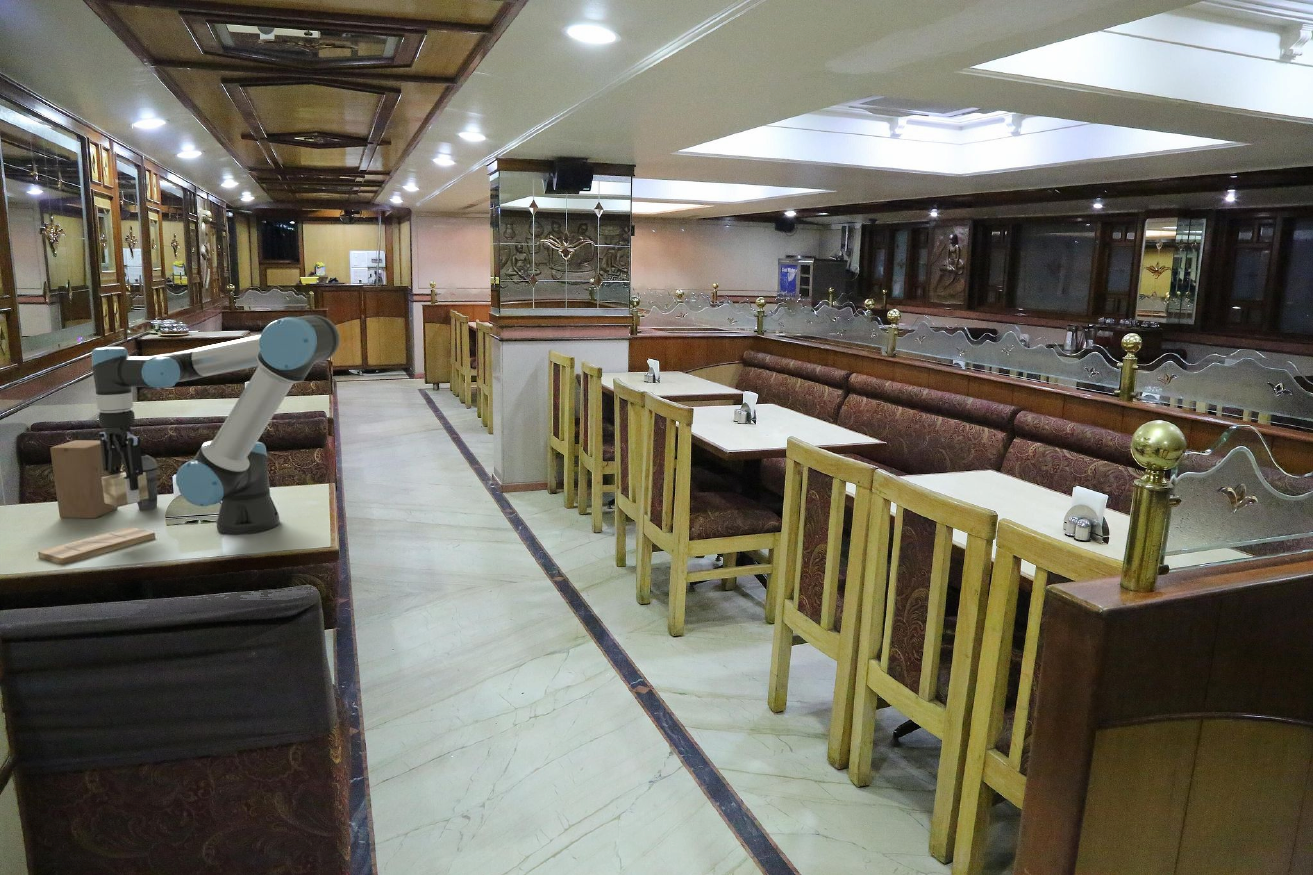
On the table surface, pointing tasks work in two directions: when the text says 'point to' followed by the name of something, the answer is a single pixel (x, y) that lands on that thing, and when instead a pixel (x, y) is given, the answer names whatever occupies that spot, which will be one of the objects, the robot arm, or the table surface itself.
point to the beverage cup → (149, 483)
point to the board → (96, 545)
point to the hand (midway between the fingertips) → (126, 500)
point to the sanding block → (121, 489)
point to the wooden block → (79, 479)
